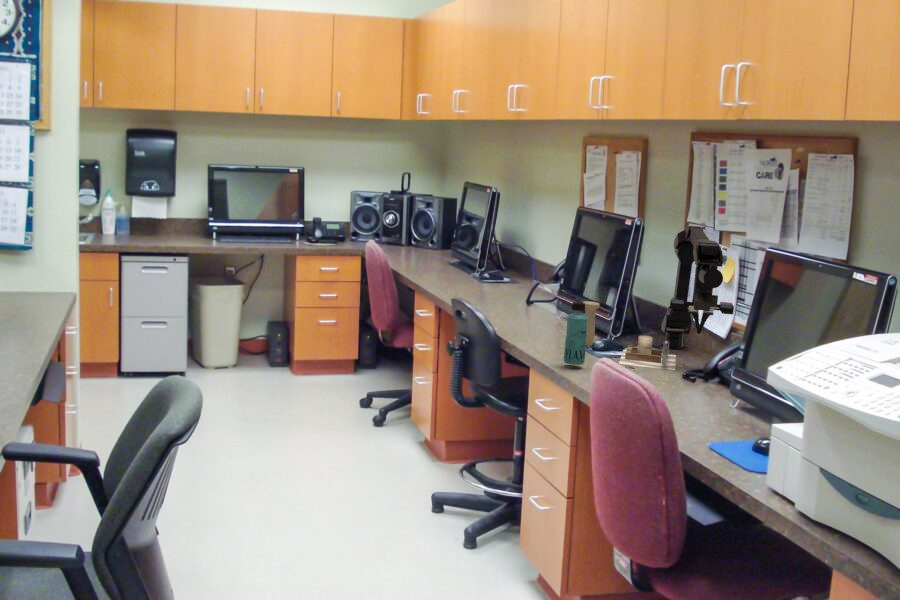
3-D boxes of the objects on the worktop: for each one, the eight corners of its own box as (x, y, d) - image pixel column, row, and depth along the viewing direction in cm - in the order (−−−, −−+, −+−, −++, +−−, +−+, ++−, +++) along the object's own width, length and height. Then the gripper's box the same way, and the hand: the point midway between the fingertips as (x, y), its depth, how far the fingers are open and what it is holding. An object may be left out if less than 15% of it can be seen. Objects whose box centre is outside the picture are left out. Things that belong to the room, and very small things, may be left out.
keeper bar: (662, 353, 317) (663, 340, 317) (668, 354, 317) (669, 341, 316) (660, 367, 298) (661, 353, 297) (666, 368, 297) (667, 353, 296)
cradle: (623, 352, 322) (623, 343, 322) (675, 358, 318) (676, 349, 318) (618, 366, 301) (619, 357, 300) (674, 373, 297) (675, 363, 297)
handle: (588, 344, 332) (592, 301, 329) (598, 348, 326) (602, 304, 323) (576, 345, 330) (580, 301, 327) (586, 349, 324) (589, 304, 321)
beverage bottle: (560, 367, 295) (565, 302, 292) (566, 363, 301) (571, 299, 298) (581, 370, 293) (586, 305, 290) (586, 366, 299) (592, 302, 296)
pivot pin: (637, 354, 315) (639, 335, 314) (651, 356, 314) (652, 336, 313) (636, 357, 311) (638, 337, 310) (650, 359, 310) (652, 339, 309)
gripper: (671, 283, 290) (666, 335, 293) (736, 289, 286) (731, 341, 289) (672, 279, 301) (667, 328, 304) (735, 284, 297) (729, 334, 299)
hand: (698, 333), depth 299 cm, fingers closed
